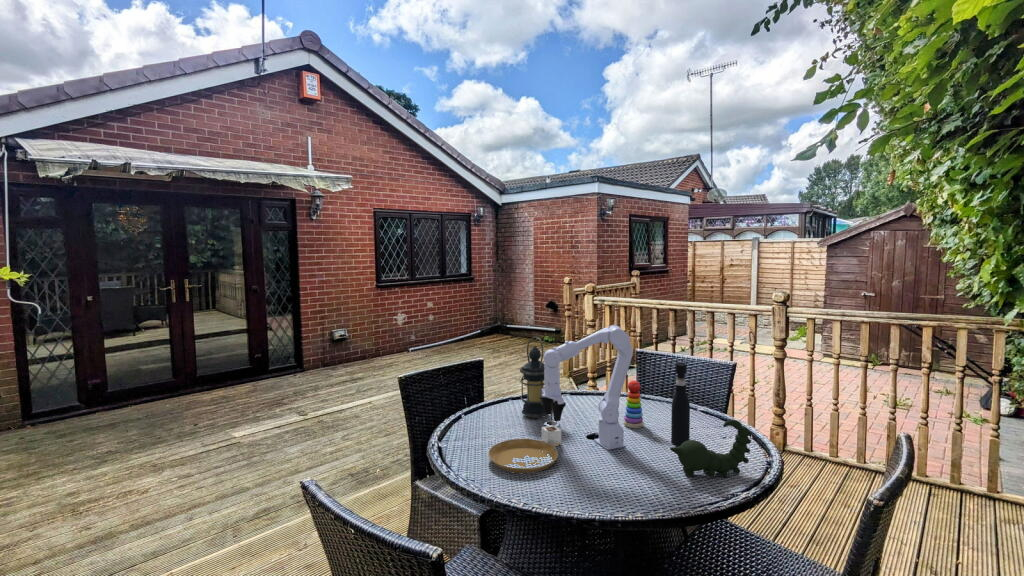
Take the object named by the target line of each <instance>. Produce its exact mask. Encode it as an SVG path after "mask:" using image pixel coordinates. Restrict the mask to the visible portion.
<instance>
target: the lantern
mask: <svg viewBox="0 0 1024 576" xmlns="http://www.w3.org/2000/svg"><path fill="white" fill-rule="evenodd" d="M534 339H538V340H539V343H540V346H541V351H540V349H539V348H538V347H537V346H536V345H535V346H533V347H532V348H531V349H530V350H529V348H530V347H529V346H530V343H531V341H532V340H534ZM526 345H527V346H526V356H527V363H525V364H524V365H523V366H521V367H520V369H519V373H521V374H522V376H521V379H520V381H519V382H520V383H521V396H520V400H521V401H522V402H524V403H523V405H522V406H523V407H522V411H521V413H522V415H524V416H526V417H527V418H533V419H539V418H545V417H546V416H547V415H546V414H545V411H544V407H543V403H542V401H541V399H540V396H542V388H543V387H545V385H544V370H545V368H544V365H545V362H543V361H544V357H543V356H544V346H543V345H544V344H543V342H542V339H541V338H540V337H538V336H533V337H531V338H530V339H528V342H527V344H526ZM524 381H526V382H527V383H525V382H524ZM524 385H525V386H526V389H527V391H526V393H525V394H524V391H523V390H524V387H523V386H524ZM524 397H527V398H526V399H524Z"/></svg>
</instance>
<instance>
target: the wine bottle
mask: <svg viewBox="0 0 1024 576" xmlns="http://www.w3.org/2000/svg"><path fill="white" fill-rule="evenodd" d="M687 366H688V365H687V364H686V363H684V362H676V363H675V374H677V376H676V377H677V379H675V388H674V389H675V390H674V391H675V392H674V395H673V397H672V401H671V418H670V419H671V424H670V425H671V426H670V427H671V428H670V430H671V432H670V433H671V434H670V435H671V436H670V437H671V438H670V441H671V442H670V443H671V445H673V446H674V447H680V445H681V444H682V443H684V442H685V441H688V440H691V439H690V436H691V435H690V429H691V428H690V425H691V423H690V422H691V421H690V419H691V414H690V413H691V412H690V411H691V405H690V400H689V399H690V398H689V396H688V394H687V384H686V378H685V376H686V374H687V372H688V371H687V370H688V369H687Z"/></svg>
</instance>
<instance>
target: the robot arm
mask: <svg viewBox="0 0 1024 576" xmlns="http://www.w3.org/2000/svg"><path fill="white" fill-rule="evenodd" d="M609 342H610V343H609ZM599 343H602V344H607V345H608V344H612V346H614V348H615V349H616V350H617V356H616V360H615V362H614V363H615V364H614V366H613V370H612V372H611V373H612V374H611V377H610V380H609V383H608V387H607V389H606V392H605V393H604V395H603V397H602V399H601V401H599V403H598V407H597V408H598V411H599V412H600V415H599V417H598V438H594V439H593V440H594V442H595V443H597V444H599V445H600V446H601V447H603V448H604V449H606V450H608V451H609V450H613V449H619V448H623V447H626V444H625V443H624V440H625V439H624V438H625V435H624V432H625V431H624V428H623V426H621V424H620V422H619V417H620V412H619V409H620V399H621V398H620V397H621V394H622V390H623V387H624V384H625V381H626V377H627V374H628V372H629V368H630V364H631V361H632V358H633V354H634V351H633V347H632V345H631V341H630V337H629V335H628V334H627V333H626V331H625V330H623V329H622V328H621V327H620V326H619V325H616V324H612V325H609V326H608V327H604V328H601V329H599V330H597V331H596V332H594V333H592V334H589V335H588V336H586V337H583V338H582V339H579V340H578V341H573V340H566V341H564V343H563V344H561V345H559V346H553V348H552V349H551V348H550V349H547V350H546V351H545V352H544V353H543V361H544V362H543V363H544V364H545V365H544V368H545V370H544V387H545V388H544V389H542V396H540V399H541V401H542V403H543V407H544V411H545V414H546V416H547V415H548V416H549V415H550V414H551V412H552V410H553V421H556V422H560V421H561V417H562V414H563V411H564V408H565V407H566V405H567V403H566V402H565V401H564V398H563V397H562V393H561V394H560V389H561V385H560V384H561V382H560V381H561V377H560V376H561V373H560V369H559V368H560V366H559V365H560V363H561V362H566V360H567V361H568V360H570V359H571V358H575V357H576V356H578V355H579V353H580V351H581V350H584V349H587V348H588V347H591V346H593V345H595V344H599ZM553 400H555V402H553Z"/></svg>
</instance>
